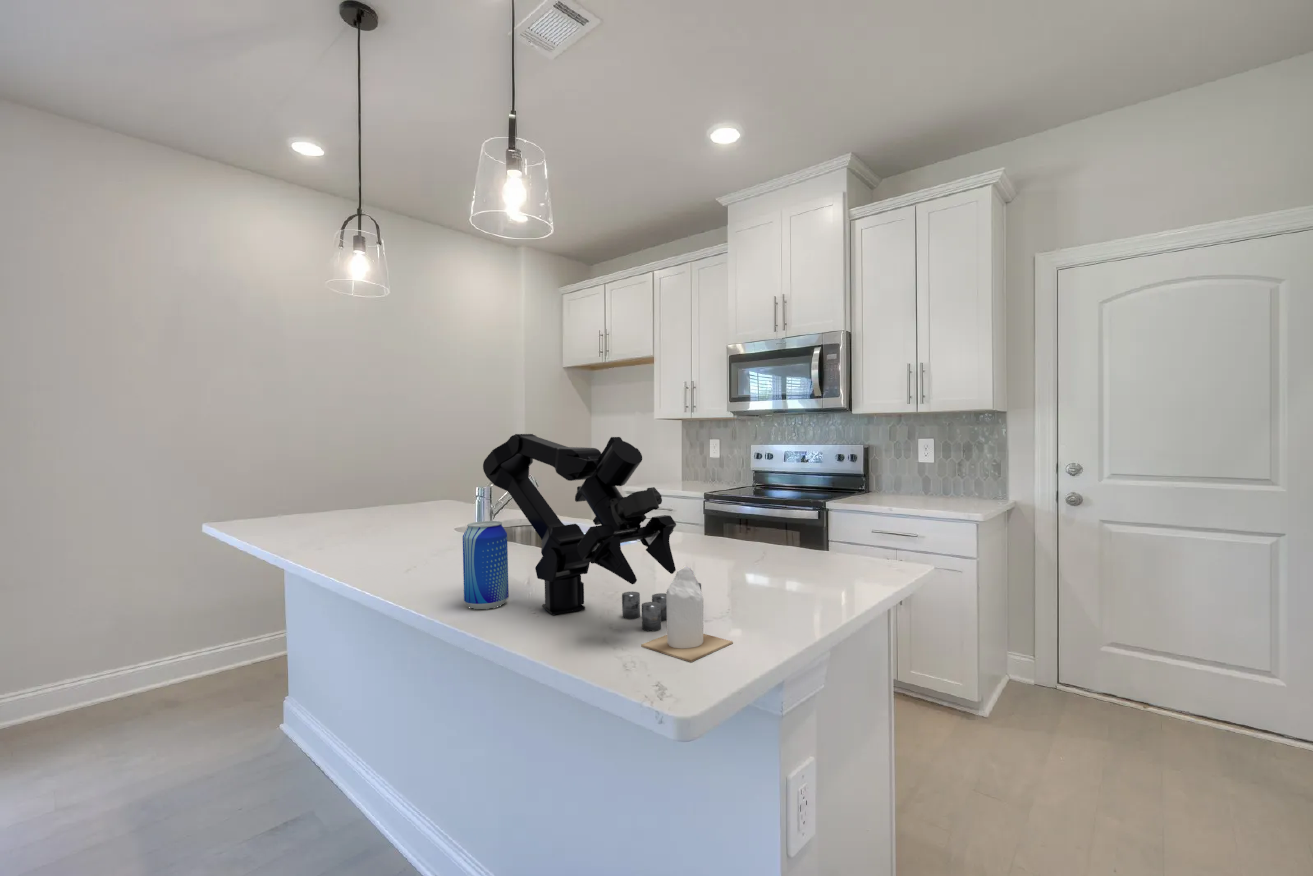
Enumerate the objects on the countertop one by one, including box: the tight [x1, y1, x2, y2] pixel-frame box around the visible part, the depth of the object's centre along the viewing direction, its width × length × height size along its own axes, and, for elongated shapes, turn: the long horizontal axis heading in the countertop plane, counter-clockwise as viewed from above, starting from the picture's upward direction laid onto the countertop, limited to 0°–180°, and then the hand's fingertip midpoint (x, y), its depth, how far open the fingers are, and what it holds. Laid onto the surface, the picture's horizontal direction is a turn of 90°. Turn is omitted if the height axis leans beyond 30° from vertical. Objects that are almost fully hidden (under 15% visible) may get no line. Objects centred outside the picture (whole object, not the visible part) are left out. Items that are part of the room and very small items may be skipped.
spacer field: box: [621, 582, 702, 632], centre depth 105 cm, size 16×14×4 cm
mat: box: [640, 633, 734, 663], centre depth 91 cm, size 10×10×1 cm
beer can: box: [462, 520, 509, 610], centre depth 116 cm, size 8×8×16 cm
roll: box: [665, 565, 704, 649], centre depth 91 cm, size 6×12×6 cm
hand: (655, 577), depth 96 cm, fingers open, 9 cm apart
